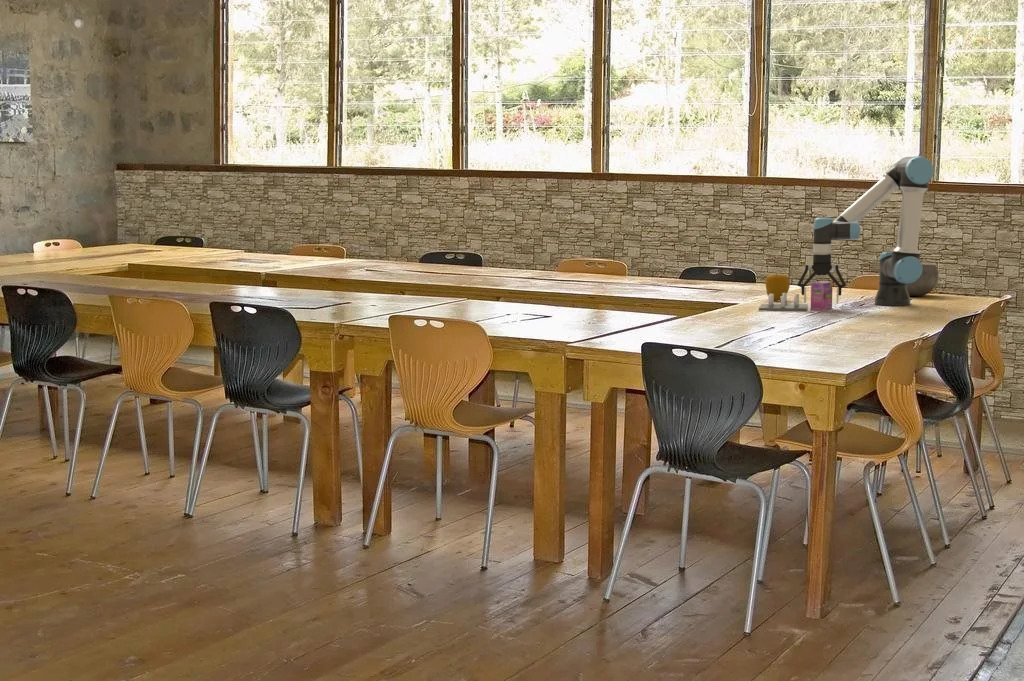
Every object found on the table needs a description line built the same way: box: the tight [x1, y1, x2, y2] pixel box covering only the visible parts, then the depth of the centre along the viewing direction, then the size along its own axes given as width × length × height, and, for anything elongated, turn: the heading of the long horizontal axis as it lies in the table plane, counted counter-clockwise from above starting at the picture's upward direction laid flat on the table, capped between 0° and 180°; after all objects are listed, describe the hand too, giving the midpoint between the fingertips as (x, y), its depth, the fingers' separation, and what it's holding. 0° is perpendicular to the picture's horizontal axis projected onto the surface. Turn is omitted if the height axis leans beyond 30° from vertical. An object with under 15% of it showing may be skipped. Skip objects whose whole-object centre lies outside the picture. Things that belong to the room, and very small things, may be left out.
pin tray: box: [758, 293, 809, 312], centre depth 552 cm, size 20×18×6 cm
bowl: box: [907, 263, 939, 297], centre depth 597 cm, size 21×21×15 cm
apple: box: [764, 272, 791, 300], centre depth 589 cm, size 11×11×13 cm
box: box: [810, 280, 834, 312], centre depth 547 cm, size 10×6×12 cm, turn 143°
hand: (821, 303), depth 547 cm, fingers open, 13 cm apart
